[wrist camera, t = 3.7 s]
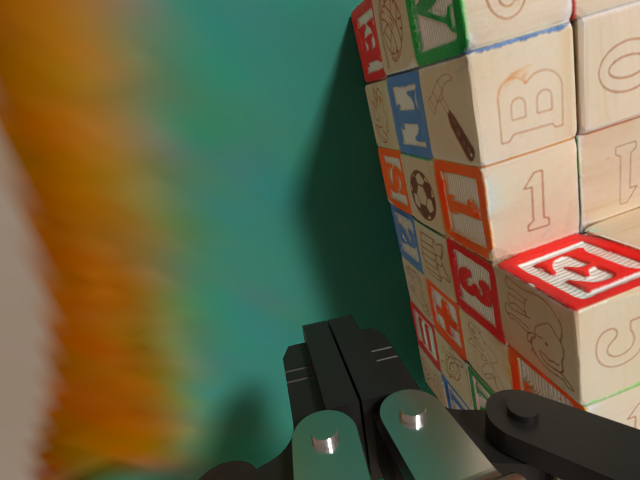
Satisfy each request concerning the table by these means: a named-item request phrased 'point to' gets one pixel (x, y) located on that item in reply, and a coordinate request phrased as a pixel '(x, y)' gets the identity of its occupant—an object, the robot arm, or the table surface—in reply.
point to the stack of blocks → (514, 191)
